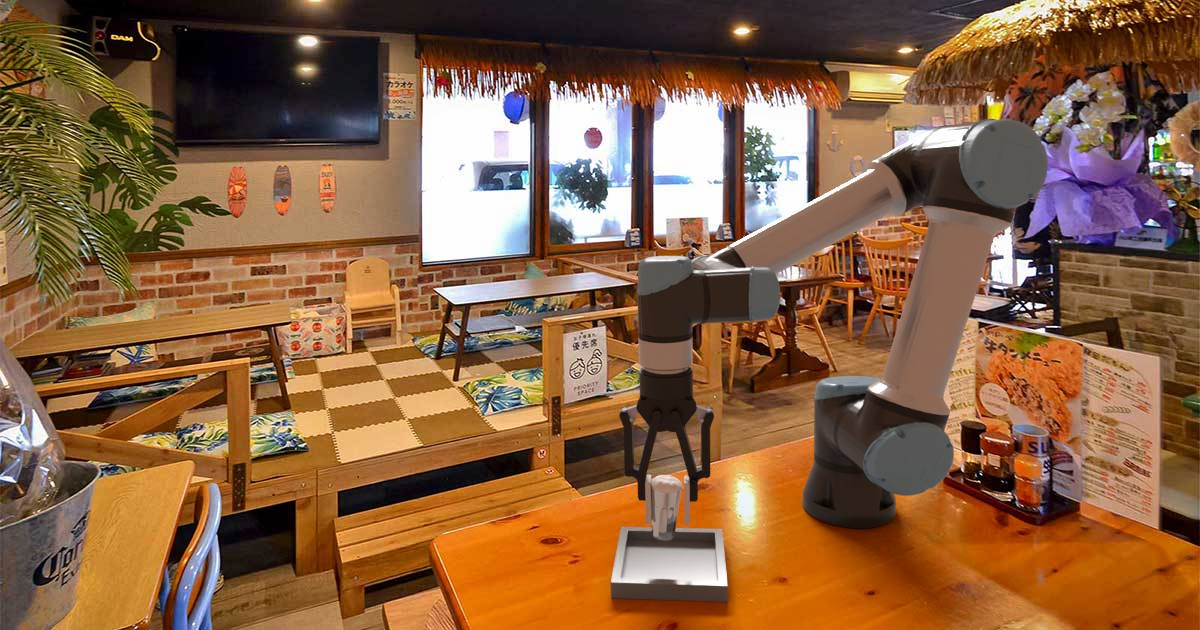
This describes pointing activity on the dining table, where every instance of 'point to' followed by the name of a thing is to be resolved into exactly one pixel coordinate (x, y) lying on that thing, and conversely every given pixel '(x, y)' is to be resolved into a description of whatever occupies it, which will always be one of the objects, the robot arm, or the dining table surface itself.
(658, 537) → the milkshake
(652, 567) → the slate tray
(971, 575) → the dining table surface
